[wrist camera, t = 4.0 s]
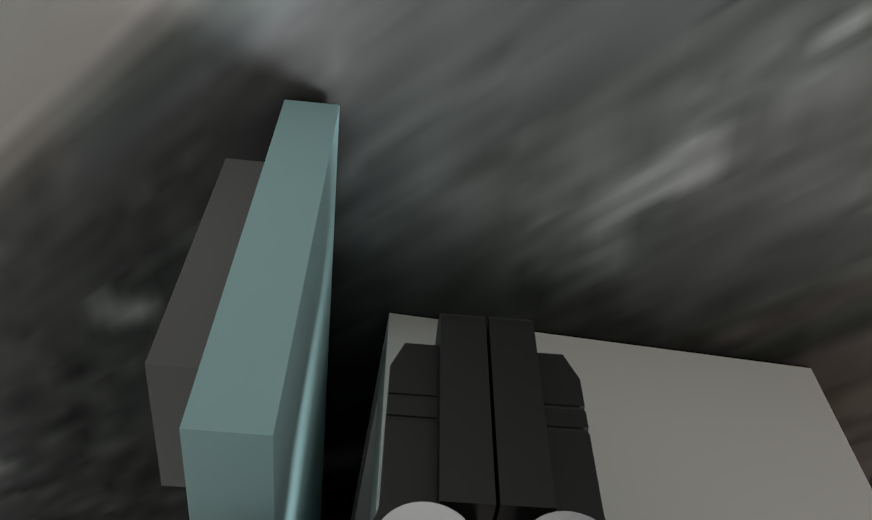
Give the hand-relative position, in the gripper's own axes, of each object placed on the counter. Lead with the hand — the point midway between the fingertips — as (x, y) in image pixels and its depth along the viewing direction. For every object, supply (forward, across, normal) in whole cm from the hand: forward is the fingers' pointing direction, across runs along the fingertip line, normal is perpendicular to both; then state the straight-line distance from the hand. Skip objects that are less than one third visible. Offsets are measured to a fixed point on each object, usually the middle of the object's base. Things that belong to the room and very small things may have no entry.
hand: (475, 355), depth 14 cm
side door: (+4, +4, +8) cm, 10 cm away
